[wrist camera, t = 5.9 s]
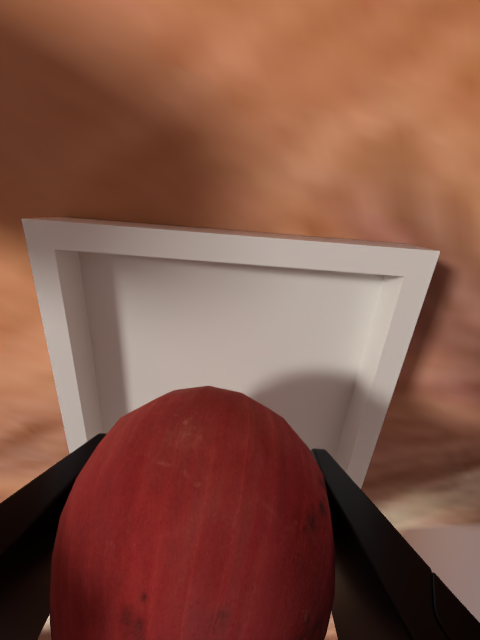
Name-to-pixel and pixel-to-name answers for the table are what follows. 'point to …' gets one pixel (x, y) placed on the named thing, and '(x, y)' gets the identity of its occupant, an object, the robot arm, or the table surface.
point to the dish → (227, 323)
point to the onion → (195, 528)
